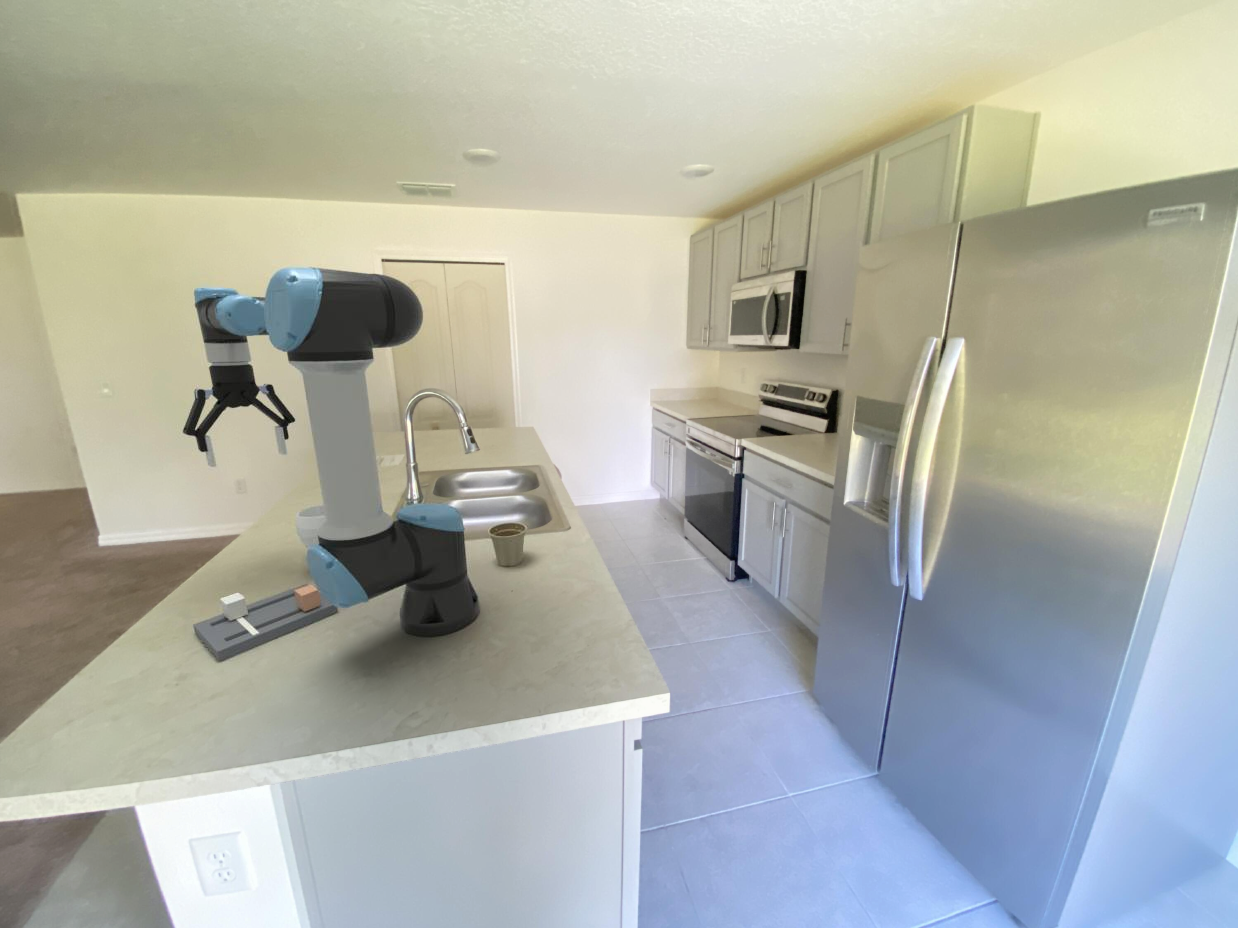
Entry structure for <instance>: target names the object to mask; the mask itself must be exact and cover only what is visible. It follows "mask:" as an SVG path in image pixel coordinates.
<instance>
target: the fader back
mask: <svg viewBox="0 0 1238 928" xmlns="http://www.w3.org/2000/svg"><path fill="white" fill-rule="evenodd" d="M219 601H220V604H221V605H220V607H221V610H222V614H223V615H224V616H225V617H226V618H227V619H228V620H229V621H231V620H234V619H237V618H239V617H242V616H245V615H247V614H248V610H247V606H246V605H247V602H246V597H244V596H243V595H242V594H241V593H239V592H236V593H232V594H230V595H227V596H224V597H221V598H219Z"/></svg>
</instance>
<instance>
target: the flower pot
mask: <svg viewBox="0 0 1238 928" xmlns="http://www.w3.org/2000/svg"><path fill="white" fill-rule="evenodd" d="M527 530H528V527H527V526H526V525H525V524H523V523H520V522H502V523H498V524H495V525H492V526H491V527H489V529H487V533H488V536H489V537H490V539H491V542H492V546H493V550H494V554H495V558H496V563H497V564H498V565H500V566H502V567H507V566H511V567H513V566H516V565H518V564H521V562H522V561H523V558H524V557H523V556H524V555H523V554H524V544H525V543H524V542H525V541H524V540H525V536H526V532H527Z"/></svg>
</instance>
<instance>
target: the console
mask: <svg viewBox="0 0 1238 928" xmlns="http://www.w3.org/2000/svg"><path fill="white" fill-rule="evenodd" d="M308 585H310V584H309V583H305V584H302V585H300V586H296V587H294V588H290V589H289V590H286V591H283V592H280V593H277V594H274V595H271V596H269V597H265V598H263V599H260V600H258V601H255V602H252V603H249V604H246V606H247V610H248V614H247V615H245V616H242V617H239V618H237V619H234V620H231V621H229V620H228V619H227V618H226V617H225V616H224V615H223V613H221V614H218V615H216V616H212V617H211V618H208V619H205V620H202V621H199V622H196V623H194V624H192V626H193V631H194V634H195V635H196V636H197V638H199V640H200V641H201V642H202V644H203V645H204V646H205V647H206V648H207V649H208V650H209V652H211V654H212V655H213V657H215V658H216V659H217V661H218V662H219V663H221V662H222V661H225V660H227V659H229V658H232V657H235V656H237V655H239V654H242V653H244V652H246V651H248V650H251V649H253V648H256V647H259V646H261V645H263V644H265V643H268V642H270V641H273V640H275V639H277V638H280V637H283V636H284V635H287V634H290V633H292V632H295V631H297V630H298V629H301V628H303V627H306V626H308V625H311V624H313V623H315V622H318V621H320V620H323V619H326V618H328V617H331V616H333V615H334V614H337V613H339V609H338V607H336V606H334V605H332V604H331V603H330V602H329V601H328V600H327V599H326V598H325V597H324V596H323V594H322V593H321V592H320V591H319V597H320V603H321V606H318V607H316V608H313V609H311V610H308V611H306V612H304V611H303V610H302V609H300V608H299V607H298V606H297V603H296V598H295V592H294V590H297V589H299V588H302V587H305V586H308Z"/></svg>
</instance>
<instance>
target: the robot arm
mask: <svg viewBox="0 0 1238 928" xmlns="http://www.w3.org/2000/svg"><path fill="white" fill-rule="evenodd" d="M193 296H194V307H195V309H196V312H197V317H198V322H199V326H200V331H201V337H202V340H203V344H204V345H203V346H204V349H205V354H206V359H207V362H208V363H209V364H211V365H210V366H209V367H208V370H209V375H210V380H211V384H212V386H211V389H203V388H202V389H201V388H195V389H194V393H193V394H194V401H193V402H192V403H193V404H192V406H191V408H190V412H189V414H188V417H187V419H186V422H185V425H184V426H183V427H184V428H183V429H182V433H183V434H184V435H187V436H191V437H195V440H196V444H197V449H198V450H199V452H200V453H205V457H206V461H207V462H206V463H207V466H209V467H211V468H215V467H217V464H216V463H217V462H216V457H215V453H214V450H213V449H214V448H213V443H212V439H211V436H209V435H207V433H208V432H209V430H211V428H212V427H213V425H215V424H214V423H216V421H217V420H218V419H219V417H220V416H221V415H222V414H223V412H224V411H226V409H227V408H230V409H235V408H240V407H243V408H247V407H249V406H251V405H252V406H253V407H254V408H255V409H257V410H258V411H259V412H261V413H262V414H263V415H265V416H267V418H269V419H270V420H271V421H273V422H274V423H275V424H277V425H276V426H275V425H274V427H273V429H274V434H275V437H276V443H277V450H278V453H279V454H280V455H283V456H286V455H288V451H287V445H286V440H289V438H290V437H289V432H288V426H289V425H290V424H293V423H294V422H296V418H295V417H294V416H293V414H292V413H291V412H290V411H289V409H288V408H287V406H286V405H285V404H284V403H283V402H282V400H281V399H280V397H279V396H278V395H277V394H276V391H275V389H274V386H273V384H270V383H264V384H263V385H257V383H256V378H255V373H254V368H253V365H252V364H250V363H249V362H252V356H251V352H250V347H249V342H248V337H252V336H268V340H269V341H270V343H271V345H272V346H273V348H275V349H277V350H279V351H281V352H284V353H286V355H287V359H288V360H287V362H288V364H290V365H291V366H293V367H294V368H295V369H296V370H298V371H299V372H300V373H301V374H302V379H303V385H304V386H303V387H304V392H305V399H306V406H307V410H308V411H307V412H308V416H309V422H310V423H309V424H310V429H311V435H312V441H313V449H314V453H315V460H316V466H317V467H316V468H317V473H318V479H319V485H320V491H321V492H320V493H321V497H322V502H323V503H322V505H324V511H325V517H326V520H325V522H324V523H323V524H322V525H321V526H320V527H319V528H318V530H317V535H318V540H319V544H318V545H317V544H316V545H313V546H312V547H310V548H309V549H308V548H307V550H306V557H305V558H306V564H307V566H308V571H309V573H310V576H311V577H312V580H313V581H314V583H315V586H316V588H318V591H319V592H321V593H322V594H323V596H324V597H325V598H326V599H327V600H328V601H329V602H330V603H331V604H332V605H334V606H336V607H337V608H339V609H348V608H351V607H353V606H356V605H359V604H361V603H367V602H369V600H372V599H374V598H376V597H378V596H381V595H383V594H386V593H389V592H390V591H393V590H396V589H397V588H400V587H403V586H405V587H404V588H405V589H404V593H403V597H402V601H401V605H400V608H399V621H400V622H399V623H400V626H401V629H402V630H404V631H405V632H406V633H407V634H410V635H413V636H419V637H436V636H442V635H446V634H451V633H453V632H456V631H458V630H461V629H463V628H464V627H466V626H468V625H469V624H471V623H472V622H473V621H474V620H476V618H477V616H478V615H479V613H480V601H479V596H478V595H477V592H476V590H475V588H474V586H473V584H472V582H471V580H470V578H469V575H468V567H467V566H468V565H467V554H466V543H465V527H464V526H465V525H464V521H463V515H462V513H461V511H460V510H459V509H457V508H456V507H455V506H452V505H449V504H444V503H443V504H442V503H434V502H433V503H431V502H430V503H416V504H415V503H413V504H408V505H404V506H402V507H401V508H399V509H398V510H397V511H396V515H395V517H396V520H394V517H393V516H391V515H390V514H388V513H387V512H386V511H384V509H383V508H384V507H383V501H382V494H381V493H382V492H381V485H380V479H379V470H378V464H377V455H376V448H375V440H374V439H375V438H374V433H373V432H374V430H373V424H372V416H371V409H370V400H369V393H368V386H367V378H366V377H367V376H366V371H367V369H368V368H369V367H370V366H371V365H372V363H374V360H375V358H374V352H373V349H382V348H383V349H385V348H393V347H399V346H401V345H404V344H405V343H407V342H409V341H411V340H412V339H413V338H415V337H416V335H418V333H419V331H420V330H421V327H422V325H423V321H424V320H423V319H424V311H423V306H422V303H421V301H420V299H419V297H418V295H417V294H416V293H415V292H414V291H413V289H412V288H410V287H409V286H408V285H407V284H405V282H403V281H400V279H399V280H398V279H396V278H394V277H392V276H389V275H384V274H379V273H365V272H358V271H357V272H355V271H350V270H349V271H347V270H341V269H340V270H339V269H338V270H337V269H329V268H322V267H321V268H320V267H312V266H311V267H310V266H309V267H297V266H296V267H293V266H291V267H284V268H280V269H278V270H277V271H276V272H275V273H274V274H273V275H272V276H271V278H270V279H269V282H268V285H267V287H266V291H265V297H264V296H250V295H245V294H239V292H238V290H236V289H234V288H229V287H215V286H214V287H213V286H205V287H202V286H201V287H196V288H195V289H194V291H193ZM260 392H261V394H263V395H265V396H266V397H267V399H268V400H269V401H270V403H271V404H272V405H273V406H274V407H275V408H276V410H277V411H278V412H279V414H280V415H281V416H282V417H283V418H282V417H281V416H280V415H278V414H277V413H275V412H274V411H273V410H271V409H270V408H269V407H268V406H266V405H265V404H264V403H263V402H262V401H261V400H260V399H258V398H257V396H258V395H259V393H260ZM210 396H212V397H214V398H215V399H216V400H217V401H216V402H215V403H214V405H212V406H213V407H212V408H211V410H210V411H208V414H207V415H206V416H205V418H203V420H202V421H201V423H200V424H199V425H198V423H199V420H200V418H201V415H202V412H203V410H204V409H205V408H204V407H205V406H206V405H205V404H206V401H207V400H209V399H210ZM197 425H198V427H197ZM196 427H197V428H196Z"/></svg>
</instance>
